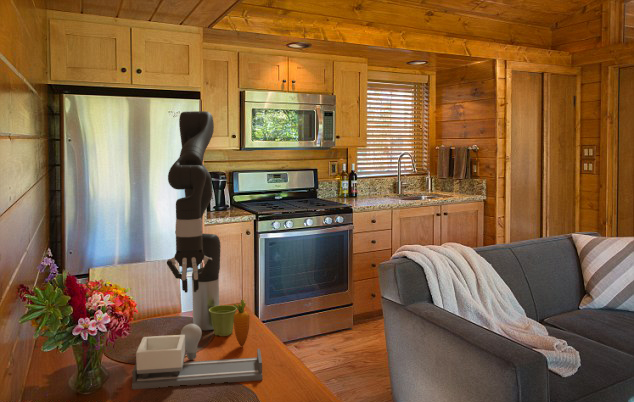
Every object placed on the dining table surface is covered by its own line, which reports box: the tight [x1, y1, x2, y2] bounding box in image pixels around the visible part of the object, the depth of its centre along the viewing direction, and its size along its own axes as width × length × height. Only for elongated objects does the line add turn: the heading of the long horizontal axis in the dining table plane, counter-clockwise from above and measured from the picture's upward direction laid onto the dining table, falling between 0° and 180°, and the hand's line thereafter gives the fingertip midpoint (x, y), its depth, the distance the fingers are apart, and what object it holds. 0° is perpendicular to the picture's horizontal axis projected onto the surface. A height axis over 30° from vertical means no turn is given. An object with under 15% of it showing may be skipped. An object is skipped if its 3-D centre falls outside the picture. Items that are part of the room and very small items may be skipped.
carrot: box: [232, 299, 250, 348], centre depth 163 cm, size 5×5×15 cm
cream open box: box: [135, 334, 186, 379], centre depth 141 cm, size 11×11×8 cm
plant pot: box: [209, 304, 238, 337], centre depth 175 cm, size 9×9×9 cm
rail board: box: [131, 348, 263, 390], centre depth 143 cm, size 12×34×4 cm, turn 100°
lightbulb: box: [180, 323, 203, 361], centre depth 153 cm, size 6×6×11 cm
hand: (190, 291), depth 152 cm, fingers closed
